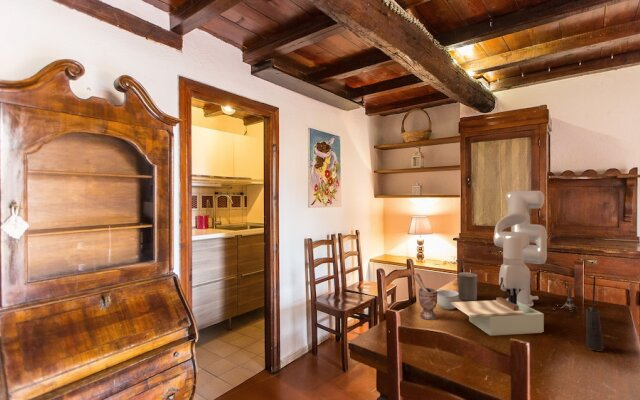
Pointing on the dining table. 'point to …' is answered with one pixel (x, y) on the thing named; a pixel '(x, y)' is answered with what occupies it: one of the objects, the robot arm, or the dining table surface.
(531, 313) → the box
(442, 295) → the teacup
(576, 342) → the dining table surface
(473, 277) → the pillar candle
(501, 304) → the lid
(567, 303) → the eiffel tower figurine
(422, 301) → the mortar and pestle
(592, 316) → the butter churn
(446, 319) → the dining table surface
